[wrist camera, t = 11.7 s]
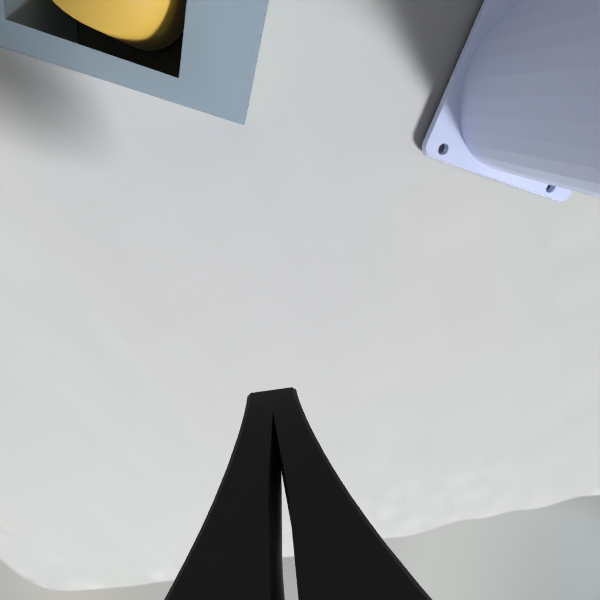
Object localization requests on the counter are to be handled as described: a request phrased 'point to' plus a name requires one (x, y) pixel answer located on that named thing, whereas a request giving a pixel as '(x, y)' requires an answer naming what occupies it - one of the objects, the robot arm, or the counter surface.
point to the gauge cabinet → (184, 90)
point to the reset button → (131, 19)
